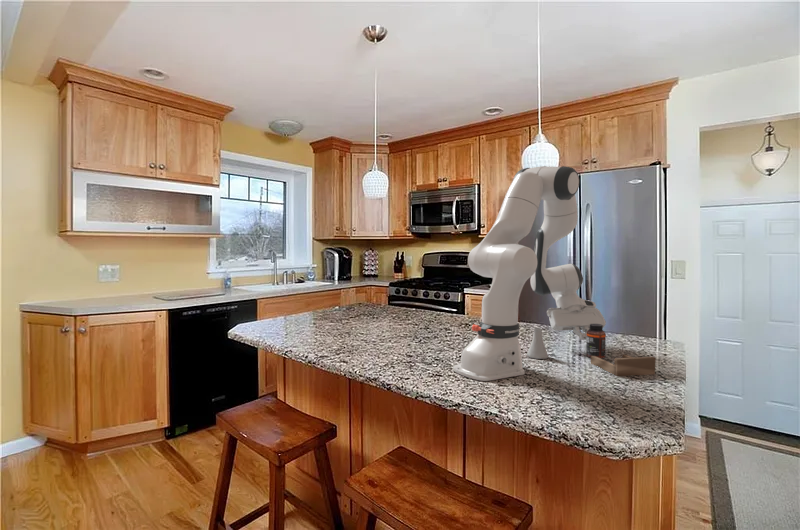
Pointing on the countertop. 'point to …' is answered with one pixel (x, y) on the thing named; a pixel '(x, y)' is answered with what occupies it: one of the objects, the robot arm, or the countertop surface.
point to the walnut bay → (627, 365)
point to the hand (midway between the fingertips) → (585, 338)
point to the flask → (537, 345)
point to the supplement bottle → (596, 341)
